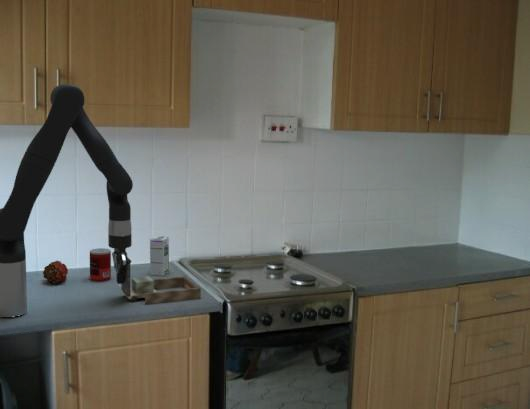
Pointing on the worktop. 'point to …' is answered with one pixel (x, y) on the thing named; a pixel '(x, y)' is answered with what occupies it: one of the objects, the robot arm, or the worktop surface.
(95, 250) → the canned food
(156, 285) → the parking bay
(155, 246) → the syrup box
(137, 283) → the grey l-shaped piece
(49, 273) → the dragon fruit
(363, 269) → the worktop surface
